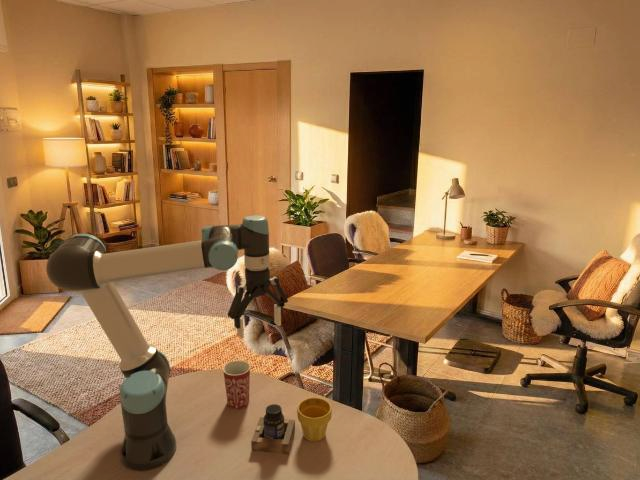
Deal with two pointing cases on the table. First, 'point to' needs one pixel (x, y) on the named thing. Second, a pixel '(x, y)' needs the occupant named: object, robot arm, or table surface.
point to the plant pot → (314, 417)
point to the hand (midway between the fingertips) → (259, 330)
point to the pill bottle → (274, 422)
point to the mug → (237, 383)
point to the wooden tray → (273, 444)
